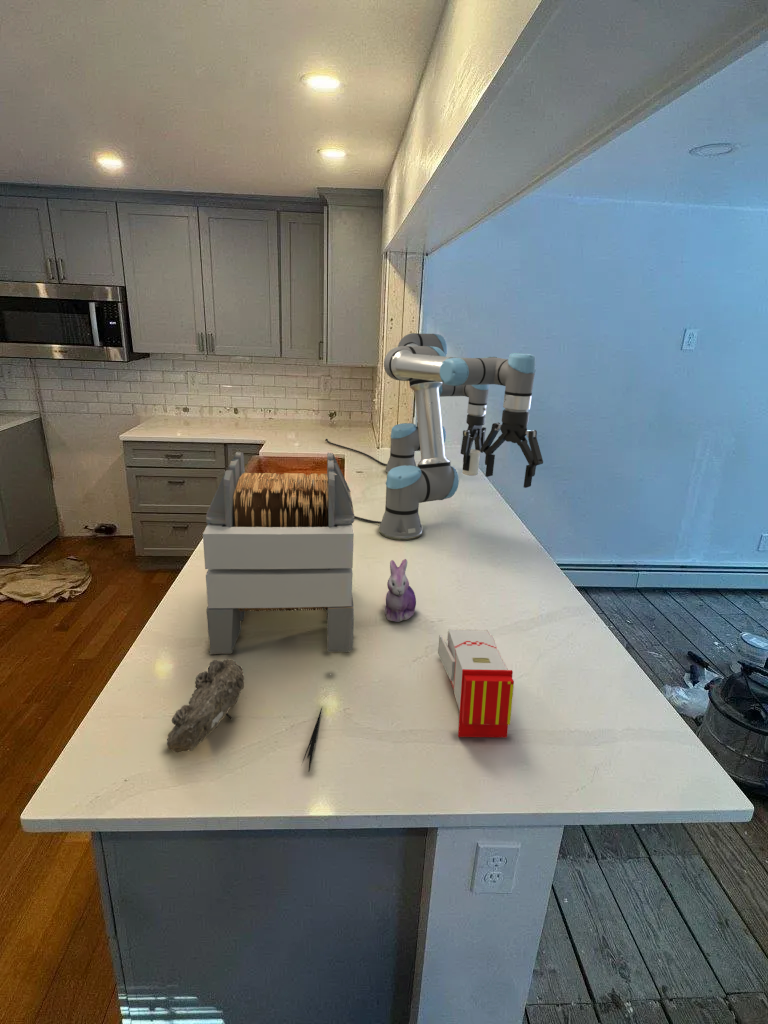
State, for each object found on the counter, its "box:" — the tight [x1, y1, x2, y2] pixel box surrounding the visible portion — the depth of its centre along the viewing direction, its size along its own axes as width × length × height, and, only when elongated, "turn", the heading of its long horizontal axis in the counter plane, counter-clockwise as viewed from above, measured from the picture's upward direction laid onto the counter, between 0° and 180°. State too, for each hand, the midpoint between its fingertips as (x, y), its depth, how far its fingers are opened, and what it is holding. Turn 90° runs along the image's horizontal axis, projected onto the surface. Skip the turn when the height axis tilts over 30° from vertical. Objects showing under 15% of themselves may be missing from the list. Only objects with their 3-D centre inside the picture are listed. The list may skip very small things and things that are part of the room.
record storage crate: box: [202, 451, 355, 655], centre depth 137 cm, size 34×33×41 cm
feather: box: [301, 673, 332, 771], centre depth 108 cm, size 2×28×2 cm
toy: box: [437, 628, 515, 738], centre depth 117 cm, size 12×13×30 cm
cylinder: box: [462, 448, 481, 477], centre depth 239 cm, size 7×7×10 cm
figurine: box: [384, 558, 417, 623], centre depth 145 cm, size 9×10×15 cm
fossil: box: [166, 658, 245, 754], centre depth 106 cm, size 22×10×15 cm
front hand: (507, 481), depth 169 cm, fingers open, 13 cm apart
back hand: (470, 468), depth 240 cm, fingers closed on cylinder, 7 cm apart
